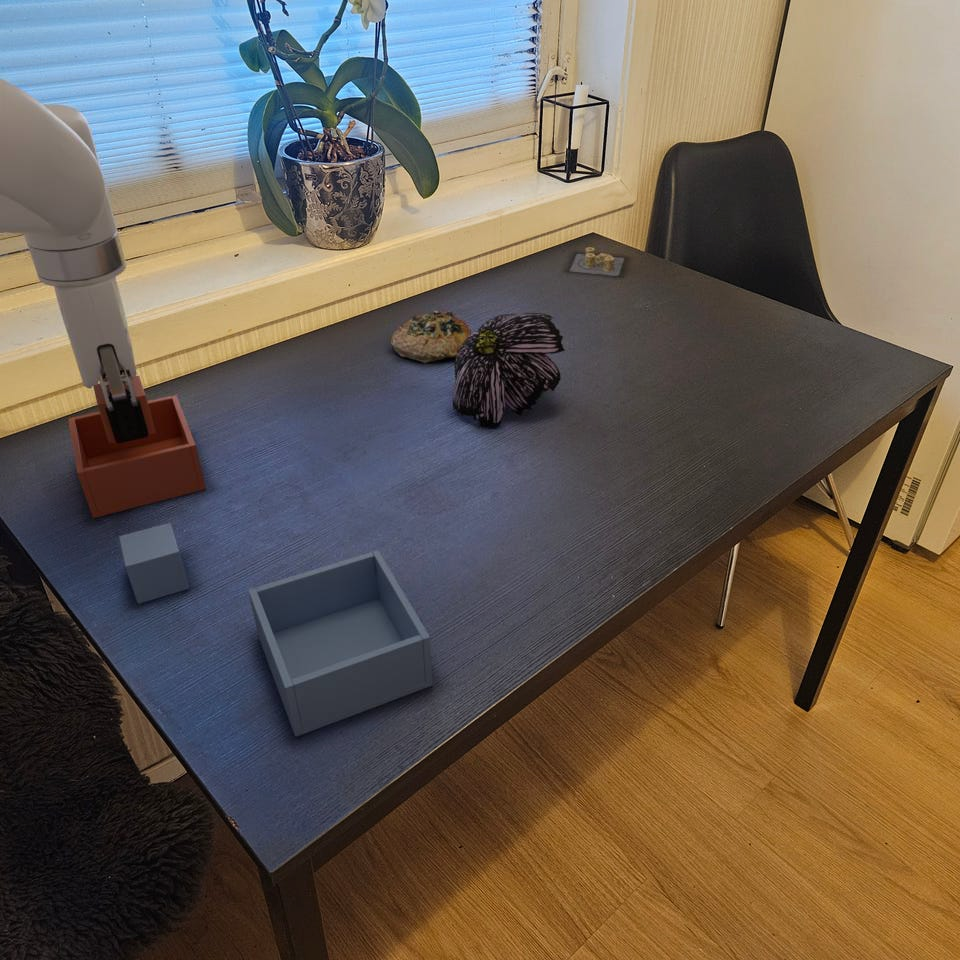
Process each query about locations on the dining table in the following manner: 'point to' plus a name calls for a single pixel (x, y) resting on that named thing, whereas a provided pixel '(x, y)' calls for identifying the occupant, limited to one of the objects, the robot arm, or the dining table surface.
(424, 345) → the bread roll
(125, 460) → the terracotta bin
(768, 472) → the dining table surface
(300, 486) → the dining table surface
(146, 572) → the slate block
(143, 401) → the terracotta block
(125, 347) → the robot arm
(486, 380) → the decorative flower
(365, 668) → the slate bin
